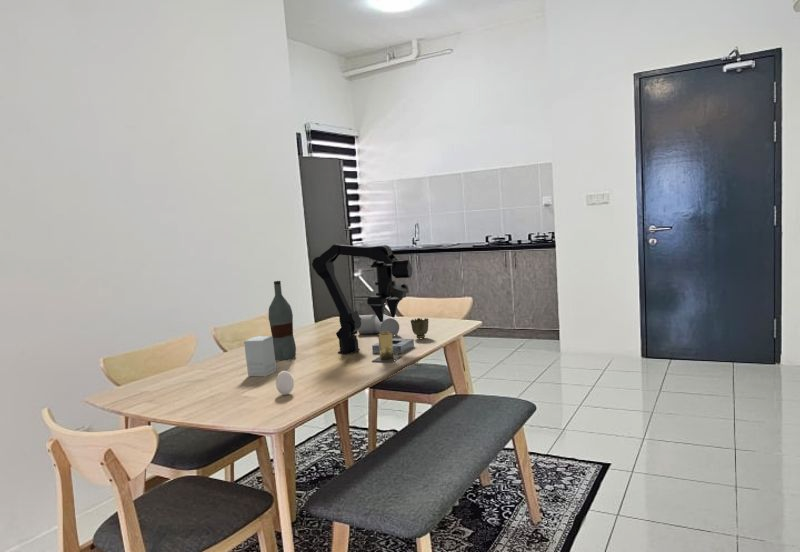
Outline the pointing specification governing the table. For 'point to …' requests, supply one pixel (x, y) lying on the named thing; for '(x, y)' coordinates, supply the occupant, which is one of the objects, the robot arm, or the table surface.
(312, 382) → the table surface
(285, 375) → the egg
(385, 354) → the brass cylinder
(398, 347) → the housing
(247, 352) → the supplement box
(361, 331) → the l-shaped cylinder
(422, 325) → the cup
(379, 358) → the mat
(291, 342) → the bottle
